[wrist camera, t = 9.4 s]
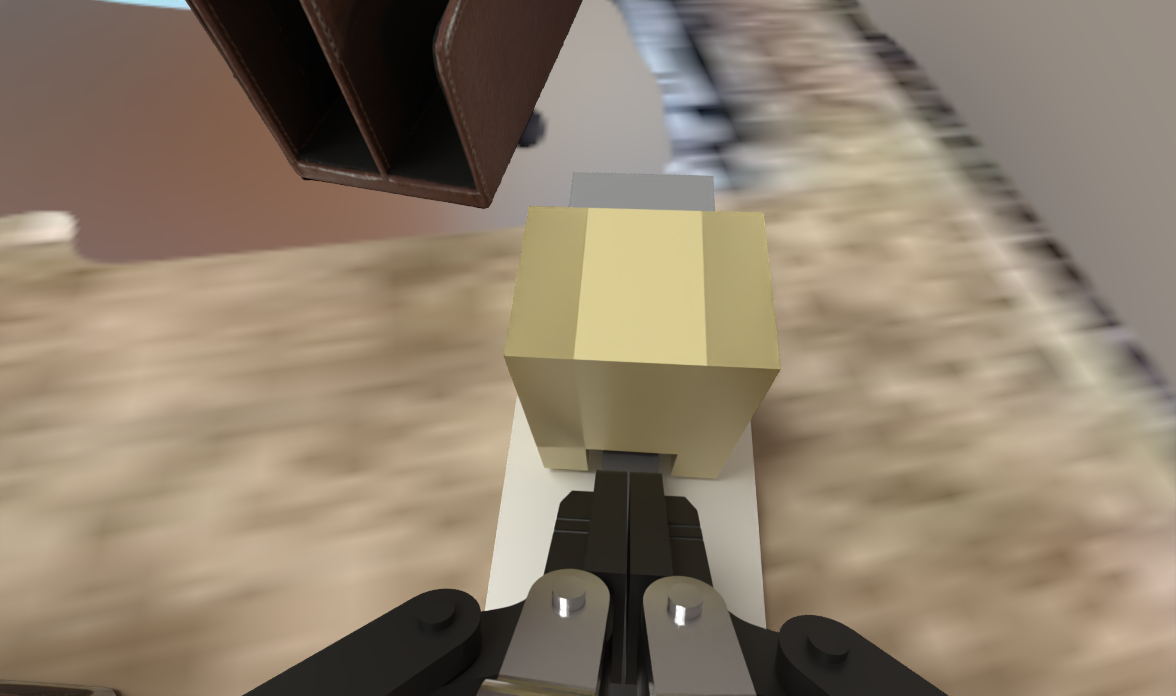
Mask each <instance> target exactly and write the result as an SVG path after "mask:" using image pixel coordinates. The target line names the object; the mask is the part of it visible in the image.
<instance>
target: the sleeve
mask: <svg viewBox="0 0 1176 696" xmlns="http://www.w3.org/2000/svg"><path fill="white" fill-rule="evenodd" d="M504 358H505V361H506V364H507V366H508V369H509V372H510V375H511V377H512V380H513V383H514V386H515V388H516V391H517V394H518V397H519V400H520V402H521V405H522V408H523V411H524V413H525V416H526V419H527V422H528V424H529V427H530V430H531V433H532V435H533V438H534V441H535V444H536V446H537V449H538V452H539V455H540V458H541V460H542V463H543V466H544V468H553V469H570V470H586V471H588V465H589V452H590V449H595V450H612V451H628V452H645V453H662V454H671V476H682V477H698V478H715V479H716V478H717V476H718V474H719V473H720V471H721V469H722V467H723V466H724V464H725V462H726V461H727V459H728V457H729V456H730V454H731V452H732V451H733V449H734V447H735V446H736V444H737V442H738V440H739V439H740V437H741V435H742V434H743V432H744V430H745V429H746V427H747V425H748V424H749V422H750V420H751V418H752V417H753V415H754V413H755V412H756V410H757V408H758V407H759V405H760V403H761V402H762V400H763V398H764V397H765V395H766V393H767V391H768V390H769V388H770V386H771V385H772V383H773V381H774V380H775V378H776V376H777V375H778V373H779V371H780V369H781V368H780V359H779V349H778V340H777V331H776V322H775V312H774V303H773V294H772V285H771V276H770V266H769V257H768V248H767V239H766V229H765V220H764V213H752V212H717V211H683V210H648V209H613V208H578V207H543V206H529V210H528V216H527V222H526V227H525V233H524V239H523V245H522V251H521V257H520V263H519V269H518V275H517V281H516V286H515V292H514V298H513V304H512V310H511V316H510V322H509V328H508V334H507V340H506V345H505V351H504Z"/></svg>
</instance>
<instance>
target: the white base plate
mask: <svg viewBox="0 0 1176 696" xmlns="http://www.w3.org/2000/svg"><path fill="white" fill-rule="evenodd" d="M569 207H578V208H613V209H648V210H683V211H715V201H714V181H713V176H696V175H655V174H653V175H652V174H613V173H573V180H572V188H571V196H570V205H569ZM596 470H607V471H626V472H627V528H628V506H629V483H630V472H647V473H662V479H663V487H664V495H665V496H683V497H686V498H687V499H688V500H689V502H690V503H691V504H692V505H693V506H694V507H695V508H696V509H697V512H698V516H699V521H700V528H701V530H702V535H703V541H704V545H705V549H706V554H707V559H708V564H709V568H710V573H711V578H712V583H713V587H714V589H715V590H716V591H717V592H718V593H719V594H720V595H721V596H722V598H723V599H724V601H725V603H726V606H727V609H728V611H730V612H731V613H732V614H734V615H735V616H737V617H738V618H740V619H742V620H744V621H746V622H748V623H750V624H753V625H756V626H759V627H762V628H765V629H766V619H765V606H764V593H763V579H762V566H761V552H760V539H759V526H758V512H757V499H756V486H755V472H754V459H753V445H752V432H751V420H750V422H749V424H748V425H747V427H746V429H745V430H744V432H743V434H742V435H741V437H740V439H739V440H738V442H737V444H736V446H735V447H734V449H733V451H732V452H731V454H730V456H729V457H728V459H727V461H726V462H725V464H724V466H723V467H722V469H721V471H720V473H719V474H718V476H717V478H716V479H715V478H698V477H682V476H671V454H662V453H645V452H628V451H612V450H595V449H590V452H589V465H588V471H586V470H570V469H553V468H544V466H543V463H542V460H541V458H540V455H539V452H538V449H537V446H536V444H535V441H534V438H533V435H532V433H531V430H530V427H529V424H528V422H527V419H526V416H525V413H524V411H523V408H522V405H521V402H520V400H519V397H518V394H517V400H516V407H515V413H514V420H513V427H512V433H511V440H510V447H509V453H508V460H507V467H506V473H505V480H504V487H503V493H502V500H501V507H500V513H499V520H498V527H497V533H496V540H495V547H494V553H493V560H492V567H491V573H490V580H489V587H488V593H487V600H486V607H485V611H488V610H493V609H499V608H504V607H508V606H511V605H514V604H517V603H519V602H521V601H523V600H525V599H526V598H527V596H528V593H529V590H530V588H531V586H532V585H533V584H534V582H535V581H537V580H538V579H539V578H540V577H542V576H543V575H544V570H545V566H546V562H547V557H548V553H549V548H550V544H551V540H552V535H553V532H554V527H555V522H556V520H557V513H558V509H559V505H560V502H561V501H562V500H563V499H564V498H565V497H566V496H567V495H568V494H569V493H570V492H571V491H572V490H574V491H592V492H593V491H594V483H595V475H596ZM625 653H626V593H625V615H624V638H623V660H622V682H621V684H615V683H611V690H610V696H637V685H631V684H625Z"/></svg>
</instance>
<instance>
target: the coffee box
mask: <svg viewBox="0 0 1176 696" xmlns="http://www.w3.org/2000/svg"><path fill="white" fill-rule="evenodd" d="M0 696H116V694H115V692H114V691H113V689H110V688H103V687H93V686H81V685H70V684H55V683H40V682H25V681H10V680H0Z"/></svg>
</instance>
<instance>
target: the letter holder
mask: <svg viewBox="0 0 1176 696" xmlns="http://www.w3.org/2000/svg"><path fill="white" fill-rule="evenodd" d="M185 1H186V2H187V4H188V5H189V7H190V8H191V10H192V11H193V13H194V14H195V16H196V17H197V19H198V20H199V22H200V23H201V25H202V26H203V28H204V29H205V31H206V32H207V34H208V35H209V37H210V39H211V40H212V42H213V43H214V45H215V46H216V47H217V49H218V51H219V52H220V54H221V55H222V57H223V58H224V60H225V61H226V63H227V64H228V66H229V68H230V69H231V71H232V73H233V76H234V78H235V79H237V81H238V82H239V84H240V85H241V87H242V88H243V90H244V92H245V93H246V95H247V96H248V98H249V100H250V101H251V103H252V104H253V106H254V108H255V109H256V111H257V112H258V113H259V115H260V116H261V118H262V120H263V121H264V123H265V124H266V126H267V127H268V129H269V130H270V132H271V133H272V135H273V137H274V138H275V140H276V141H277V143H278V145H279V146H280V148H281V150H282V151H283V153H284V155H285V156H286V158H287V160H288V161H289V163H290V165H291V166H292V168H293V169H294V170H295V172H296V173H297V174H298V175H299V176H301V178H302V179H303V180H314V181H322V182H327V183H334V184H340V185H345V186H352V187H358V188H364V189H370V190H376V191H383V192H389V193H393V194H401V195H406V196H411V197H417V198H423V199H430V200H436V201H443V202H448V203H454V204H459V205H465V206H472V207H476V208H482V209H485V208H488V207H489V206H490V205H491V203H492V200H493V198H494V195H495V193H496V191H497V188H498V186H499V185H500V183H501V179H502V177H503V175H504V173H505V171H506V169H507V166H508V164H509V163H510V160H511V158H512V156H513V153H514V152H515V149H516V147H517V144H518V142H519V140H520V138H521V136H522V133H523V131H524V129H525V127H526V125H527V123H528V120H529V118H530V116H531V113H532V112H533V110H534V107H535V105H536V102H537V100H538V98H539V97H540V93H541V91H542V89H543V88H544V86H545V83H546V81H547V79H548V76H549V74H550V72H551V70H552V68H553V65H554V63H555V61H556V59H557V58H558V55H559V52H560V50H561V48H562V46H563V43H564V40H565V39H566V36H567V35H568V32H569V30H570V27H571V25H572V23H573V21H574V18H575V17H576V14H577V12H578V10H579V7H580V5H581V3H582V0H185Z"/></svg>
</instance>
